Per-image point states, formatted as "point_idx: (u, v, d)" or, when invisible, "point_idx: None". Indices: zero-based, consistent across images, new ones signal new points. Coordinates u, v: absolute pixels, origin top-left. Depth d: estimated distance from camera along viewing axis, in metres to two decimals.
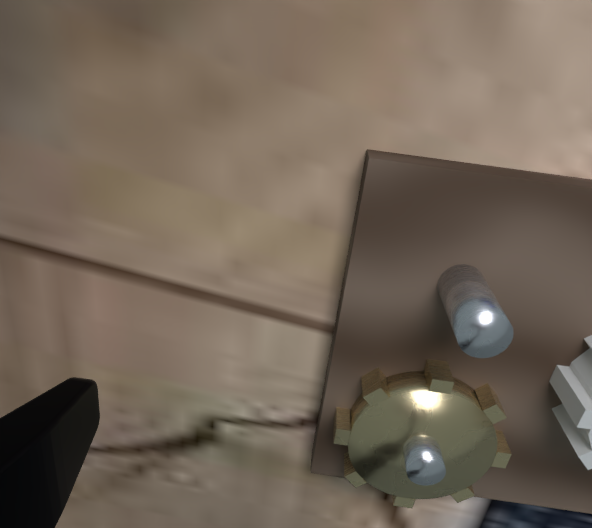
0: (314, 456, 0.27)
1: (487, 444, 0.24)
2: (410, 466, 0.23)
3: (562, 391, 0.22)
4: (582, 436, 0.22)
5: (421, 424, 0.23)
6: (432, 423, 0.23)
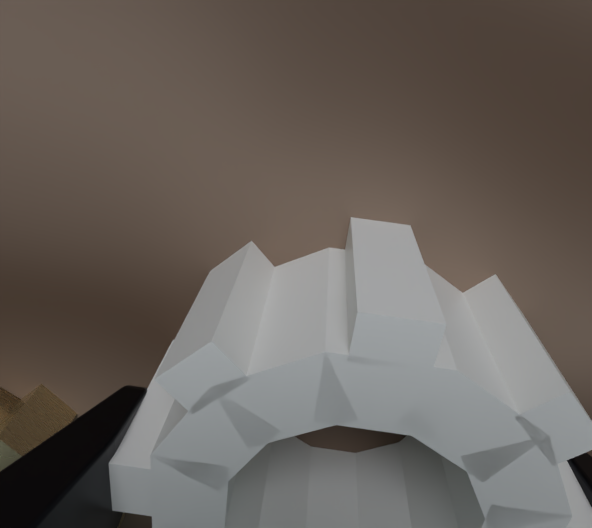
0: None
1: None
2: None
3: None
4: None
5: None
6: None
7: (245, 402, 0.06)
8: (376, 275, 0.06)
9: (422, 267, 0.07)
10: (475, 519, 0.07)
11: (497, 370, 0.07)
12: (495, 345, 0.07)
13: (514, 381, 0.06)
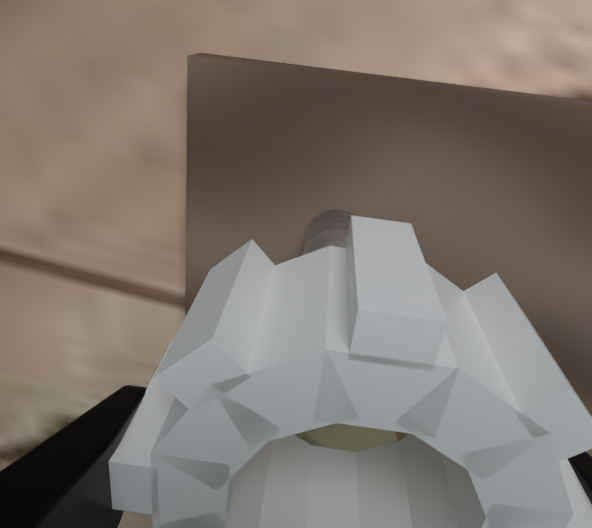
0: None
1: None
2: None
3: None
4: None
5: None
6: None
7: (245, 400, 0.06)
8: (377, 273, 0.06)
9: (423, 265, 0.07)
10: (476, 517, 0.07)
11: (498, 368, 0.07)
12: (496, 343, 0.07)
13: (515, 379, 0.06)
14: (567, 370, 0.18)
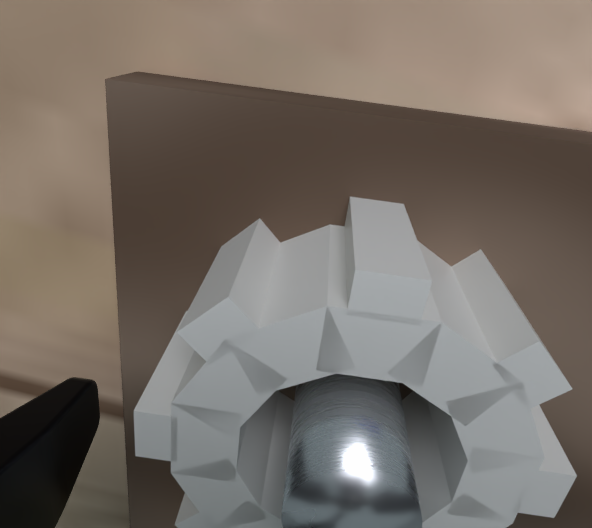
0: None
1: None
2: None
3: None
4: None
5: None
6: None
7: (256, 352, 0.07)
8: (372, 242, 0.07)
9: (413, 237, 0.08)
10: (459, 463, 0.08)
11: (479, 328, 0.07)
12: (478, 308, 0.08)
13: (493, 336, 0.07)
14: None
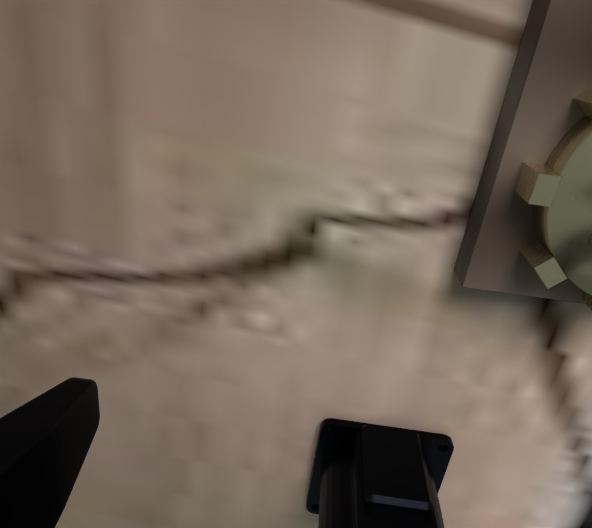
0: (472, 257, 0.18)
1: None
2: None
3: None
4: None
5: None
6: None
7: None
8: None
9: None
10: None
11: None
12: None
13: None
14: None
